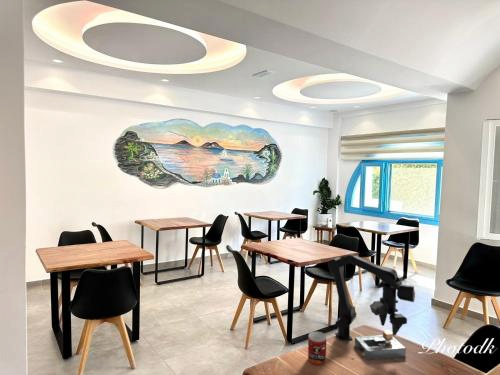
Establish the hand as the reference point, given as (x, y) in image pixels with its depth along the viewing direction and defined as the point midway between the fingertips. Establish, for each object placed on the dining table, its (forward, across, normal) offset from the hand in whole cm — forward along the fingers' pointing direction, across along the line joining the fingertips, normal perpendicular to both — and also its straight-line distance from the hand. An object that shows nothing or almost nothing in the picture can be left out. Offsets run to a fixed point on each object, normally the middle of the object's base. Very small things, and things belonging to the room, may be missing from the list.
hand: (388, 330), depth 148 cm
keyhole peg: (+10, 0, 0) cm, 10 cm away
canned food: (+10, +3, -35) cm, 37 cm away
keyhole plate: (+10, 0, -4) cm, 10 cm away
